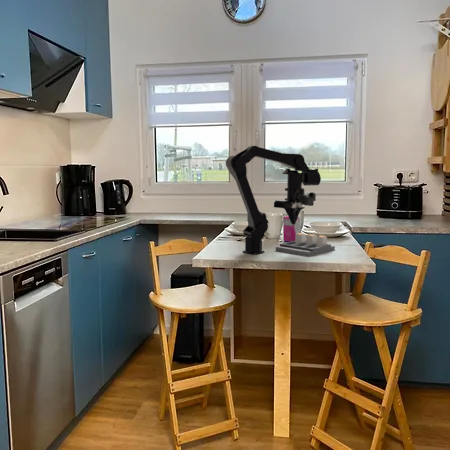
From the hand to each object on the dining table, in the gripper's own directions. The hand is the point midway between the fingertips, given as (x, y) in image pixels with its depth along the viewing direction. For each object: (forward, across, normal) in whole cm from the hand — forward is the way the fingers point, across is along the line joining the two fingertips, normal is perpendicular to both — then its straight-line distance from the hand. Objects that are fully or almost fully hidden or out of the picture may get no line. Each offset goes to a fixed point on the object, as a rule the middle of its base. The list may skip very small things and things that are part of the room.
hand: (293, 224), depth 185 cm
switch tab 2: (+9, +7, -4) cm, 12 cm away
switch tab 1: (+9, +6, +1) cm, 11 cm away
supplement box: (+10, +14, +12) cm, 21 cm away
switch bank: (+10, +3, -4) cm, 11 cm away
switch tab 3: (+9, +7, -9) cm, 14 cm away
